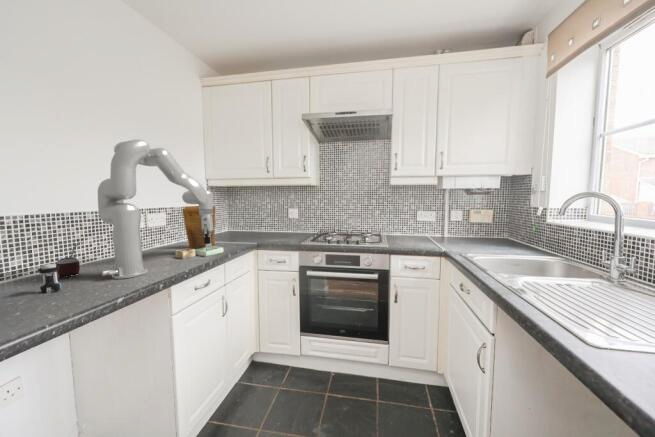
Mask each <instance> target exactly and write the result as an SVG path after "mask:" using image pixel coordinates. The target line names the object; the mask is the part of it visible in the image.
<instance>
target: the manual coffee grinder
mask: <svg viewBox="0 0 655 437" xmlns="http://www.w3.org/2000/svg"><path fill="white" fill-rule="evenodd" d="M81 242H82V241H81ZM81 242H78V243H77V244H75V245H74V246H73V247H72V251H71V254H70V257H63V258H60V259H58V260H57V262H56V266H59V270H58V271H57V275H59V277H58V279H61V278H60V277H65V278H67V277H66V276H69V277H72V276H71V275H76V274H79V275H80V267H81V265H80V261H79V259H78V258H77V257H73V256H74V252H75V250H76V248H77V246H79V245H80V244H81ZM76 276H77V275H76ZM69 277H68V278H69Z"/></svg>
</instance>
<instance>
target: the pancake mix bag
mask: <svg viewBox="0 0 655 437" xmlns="http://www.w3.org/2000/svg"><path fill="white" fill-rule="evenodd" d="M182 217H183V223H184V229H185V233H186V237H187V238H186V239H187V241H188V248H190V249H199V248H204V247H205V243H204V232H203V231H202V223H201V215H199V205H197V206H184V208H182ZM212 219H213V230H212V231H211V238H212V242H211V246H215V247H217V245H216V243H215V242H216V241H215V235H216V234H215V230H216V229H215V227H216V206H215V205H213V215H212Z"/></svg>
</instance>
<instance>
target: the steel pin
mask: <svg viewBox="0 0 655 437" xmlns="http://www.w3.org/2000/svg"><path fill="white" fill-rule="evenodd" d="M210 240H211V234H210ZM205 247H206V251H209V250H212V248H211V243H210V244H205Z"/></svg>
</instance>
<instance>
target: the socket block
mask: <svg viewBox="0 0 655 437" xmlns="http://www.w3.org/2000/svg"><path fill="white" fill-rule="evenodd" d="M194 257H196V255H195V249H190V248H189V247H187V248H183V249H178V250H175V258H177V259H181V260H184V259H185V260H187V259H189V258H194Z"/></svg>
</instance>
